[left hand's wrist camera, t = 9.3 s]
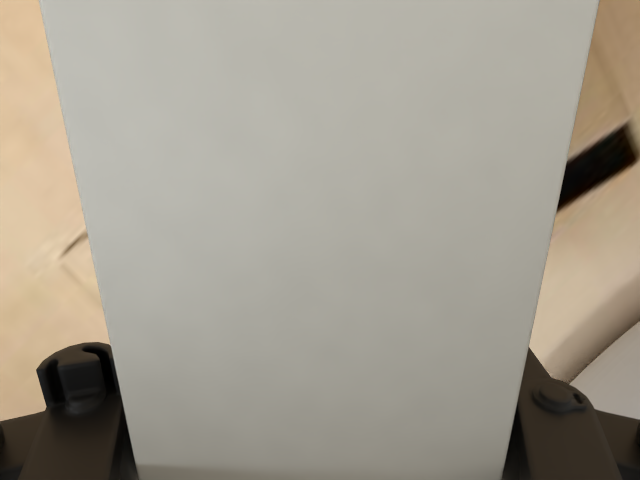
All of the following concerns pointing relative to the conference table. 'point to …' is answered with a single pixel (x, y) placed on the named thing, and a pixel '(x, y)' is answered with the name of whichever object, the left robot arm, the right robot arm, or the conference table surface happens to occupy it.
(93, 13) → the bar
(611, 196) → the conference table surface
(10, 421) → the left robot arm
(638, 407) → the projector
